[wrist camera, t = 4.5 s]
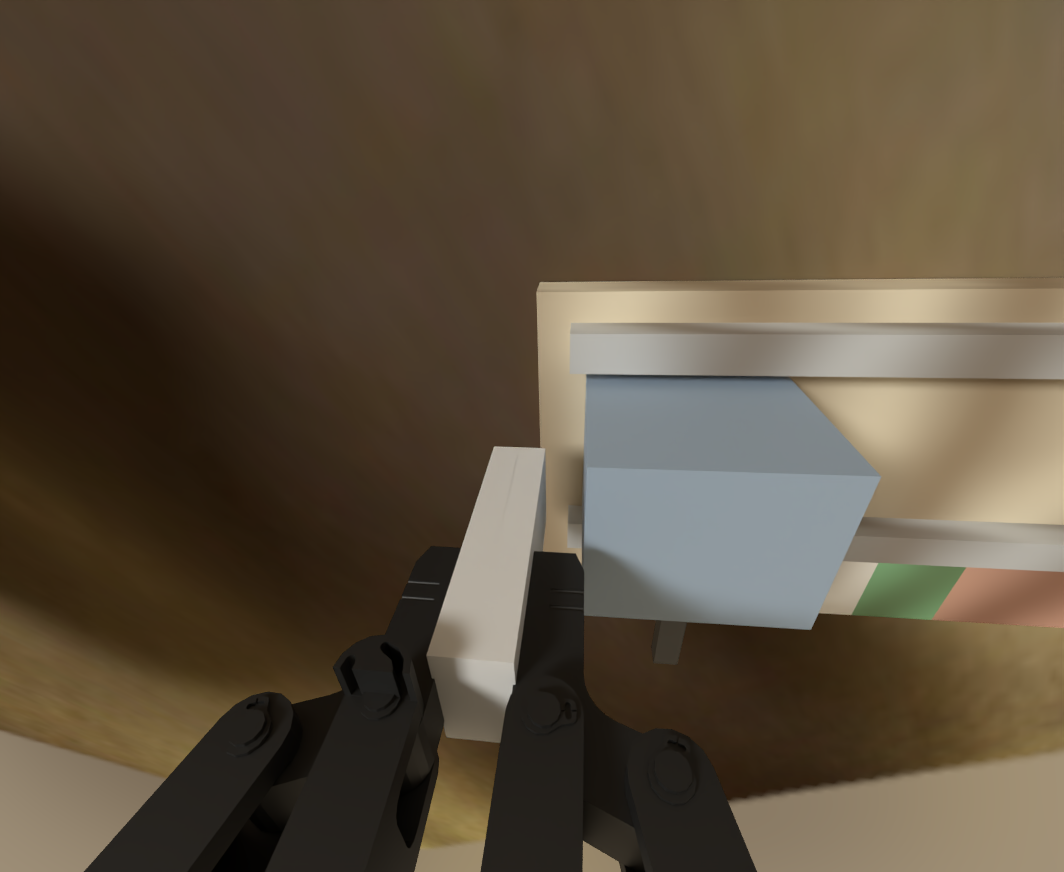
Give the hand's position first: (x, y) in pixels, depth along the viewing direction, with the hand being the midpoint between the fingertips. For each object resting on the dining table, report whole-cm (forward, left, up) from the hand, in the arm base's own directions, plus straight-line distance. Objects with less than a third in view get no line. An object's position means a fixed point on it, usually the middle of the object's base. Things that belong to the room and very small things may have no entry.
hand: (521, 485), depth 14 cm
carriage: (+5, -2, -2) cm, 6 cm away
